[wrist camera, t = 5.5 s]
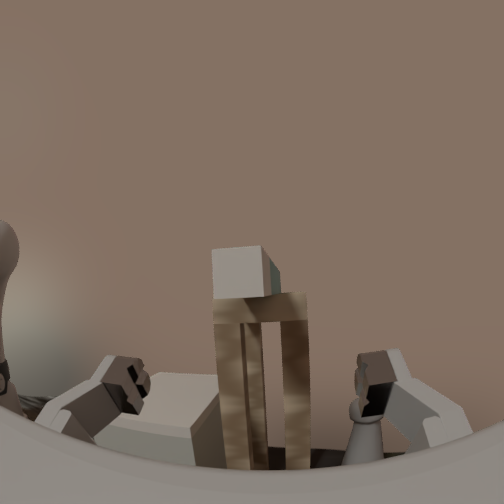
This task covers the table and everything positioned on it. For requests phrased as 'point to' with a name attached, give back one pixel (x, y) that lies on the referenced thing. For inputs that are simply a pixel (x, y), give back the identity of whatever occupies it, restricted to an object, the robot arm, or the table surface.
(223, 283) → the marker
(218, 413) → the white rectangular block
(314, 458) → the table surface
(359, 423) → the salt shaker
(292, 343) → the wooden stand
